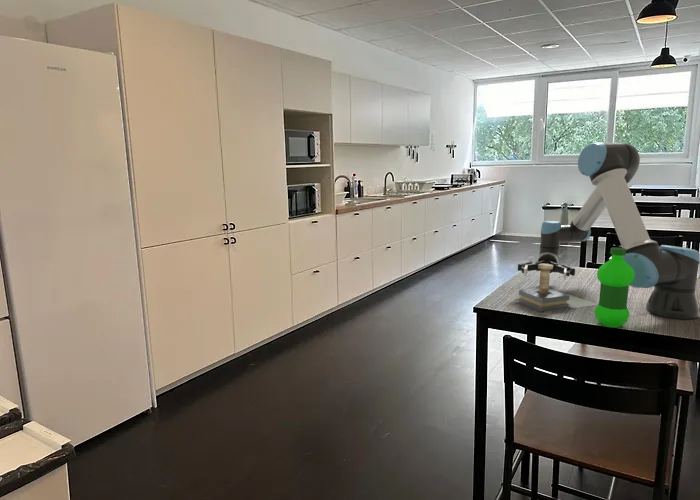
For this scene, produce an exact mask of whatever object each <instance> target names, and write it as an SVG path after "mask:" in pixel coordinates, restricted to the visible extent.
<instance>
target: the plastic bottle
mask: <svg viewBox="0 0 700 500" xmlns="http://www.w3.org/2000/svg"><path fill="white" fill-rule="evenodd" d="M609 254H610V255H611V258H610V259H608V260H607V261H606V262H604V263H603V264H602V265H600V266H599V268H598V270H597V272H596V276H597V277H596V278H597V280H598V281H599V282H600V289H599V299H598V305H596V308H595V309H594V316H595V318H596V319H597V321H598V322H599V323H600V324H601V325H602V326H603V327H607V328H619V327H621V326H623V325H625V324H626V323H627V322H628V319H629V318H630V312H629V311H630V310H629V308H628V299H629V298H628V296H629V289H630V284H632V282H633V280H634V278H635V272H634V269H633V268H632V267H631V266H630V265H629V264H628V263H626V262H625V261H624V260H623V256H624V255H626V249H625V248H622V247H618V246H617V247H616V246H615V247H611V248H610V251H609Z"/></svg>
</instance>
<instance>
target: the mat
mask: <svg viewBox="0 0 700 500" xmlns="http://www.w3.org/2000/svg"><path fill="white" fill-rule="evenodd" d="M568 295H569V300H567V303H568V304H569V307H568V308H571V309H577V308H584V307H591V306H598V305H599V303H596V302H592V301H589V300H586V299H583V298H580V297H578V296H574V295H571V294H568Z"/></svg>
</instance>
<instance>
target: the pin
mask: <svg viewBox="0 0 700 500" xmlns="http://www.w3.org/2000/svg"><path fill="white" fill-rule="evenodd" d="M538 268H539V269H541V270H540V271H539V286H538V288H539V294H542V295H546V294H548V292H549V288H550V276H551V275H550V274H551V273H550V270H552V269H553V265H551V264H538Z"/></svg>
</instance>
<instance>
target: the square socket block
mask: <svg viewBox="0 0 700 500" xmlns="http://www.w3.org/2000/svg"><path fill="white" fill-rule="evenodd" d="M569 295H570V294H567V293H564V292H561V291H558V290H555V289H553V288H550V287H549V292H548V294H546V295H542V294H539V287H533V288H524V289H519V290H518V296H520V297H518V301H517V302H518V304H519V305H522V306H524V307H527V308H530V309H532V310H534V311H537V312H539V313H545V312H549V311H554V310H556V311H557V310H562V309H569V308H570V307H569V304H568V303H567V300H569Z"/></svg>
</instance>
